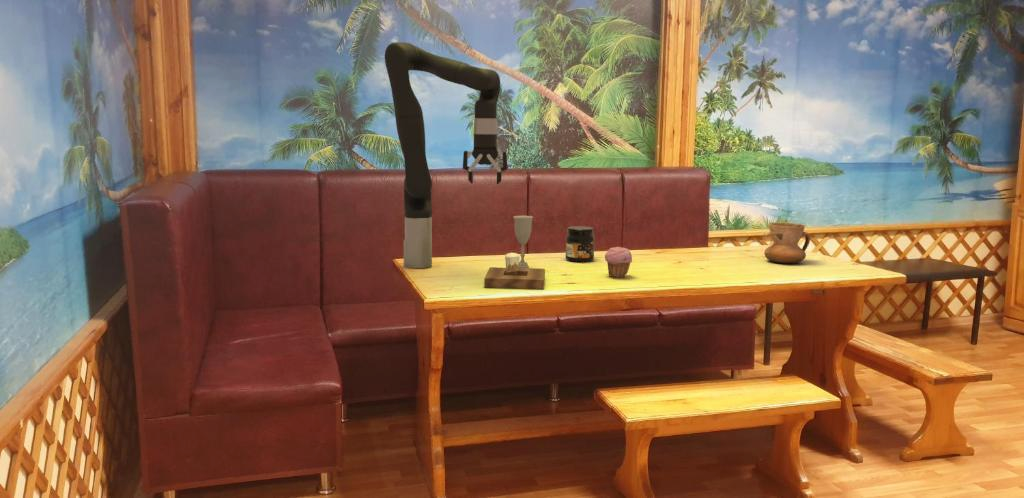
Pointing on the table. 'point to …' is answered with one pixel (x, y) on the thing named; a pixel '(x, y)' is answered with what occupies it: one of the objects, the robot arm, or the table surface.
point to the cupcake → (618, 261)
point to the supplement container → (580, 244)
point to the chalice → (523, 234)
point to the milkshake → (512, 264)
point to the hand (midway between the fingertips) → (484, 183)
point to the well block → (515, 278)
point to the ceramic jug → (786, 242)
